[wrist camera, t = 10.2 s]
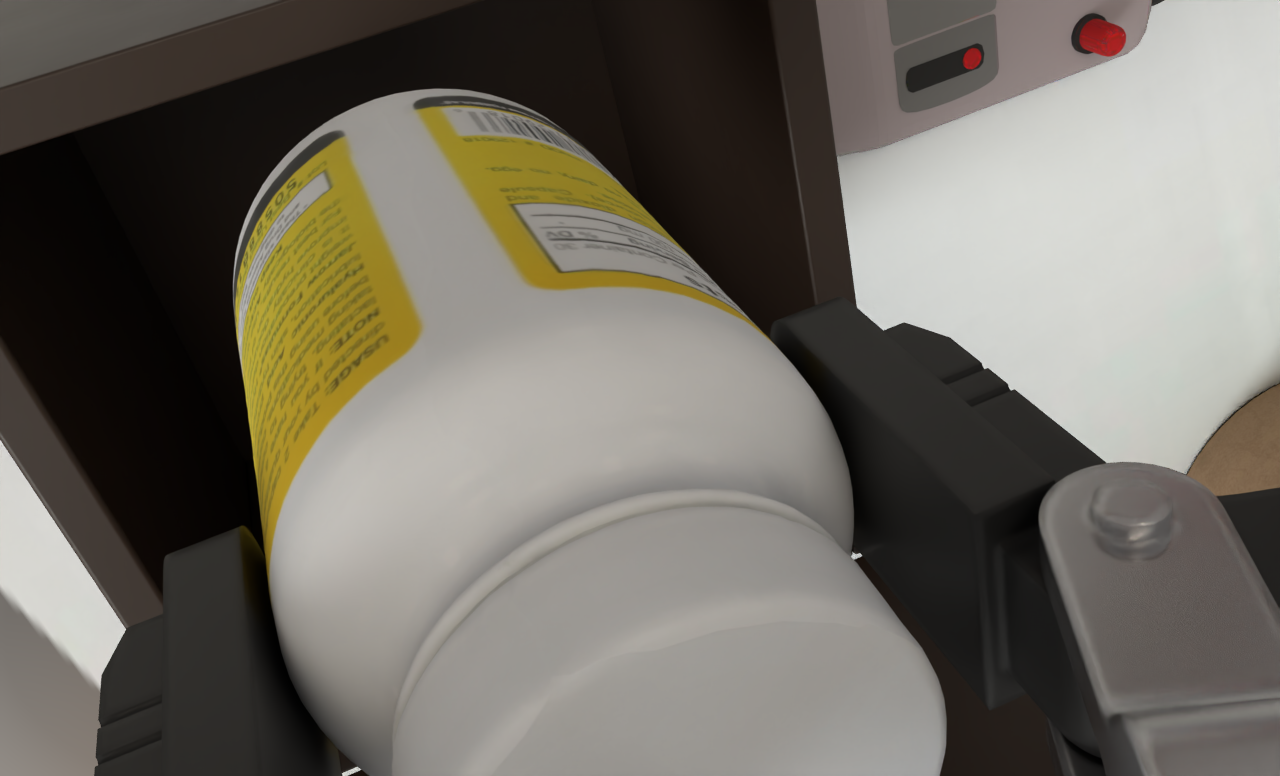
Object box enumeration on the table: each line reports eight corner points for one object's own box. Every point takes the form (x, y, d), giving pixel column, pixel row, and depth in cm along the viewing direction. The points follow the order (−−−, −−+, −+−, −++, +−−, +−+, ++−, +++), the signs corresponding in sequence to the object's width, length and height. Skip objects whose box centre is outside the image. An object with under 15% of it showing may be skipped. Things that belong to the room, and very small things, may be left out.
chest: (-46, -26, 24) (-197, 148, 14) (568, -205, 26) (797, -160, 16) (226, 478, 31) (247, 815, 22) (684, 305, 34) (889, 541, 24)
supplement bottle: (315, 493, 17) (441, 1180, 9) (160, 153, 14) (146, 727, 6) (655, 369, 18) (1039, 893, 10) (576, 27, 15) (1035, 381, 7)
